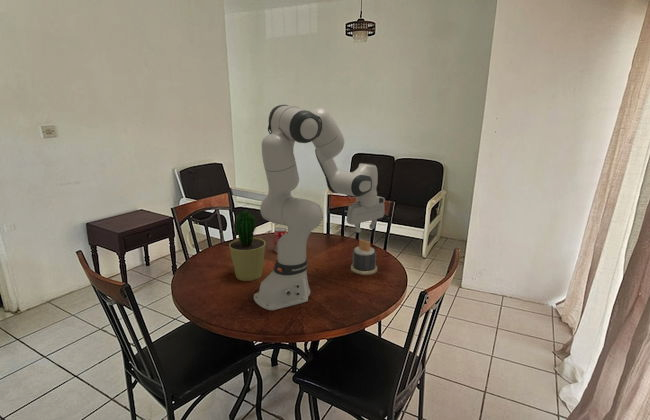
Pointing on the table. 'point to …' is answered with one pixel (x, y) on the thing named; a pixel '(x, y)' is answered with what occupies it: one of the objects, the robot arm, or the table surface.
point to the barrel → (364, 264)
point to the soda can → (278, 236)
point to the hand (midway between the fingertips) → (365, 230)
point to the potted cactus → (247, 249)
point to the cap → (364, 248)
